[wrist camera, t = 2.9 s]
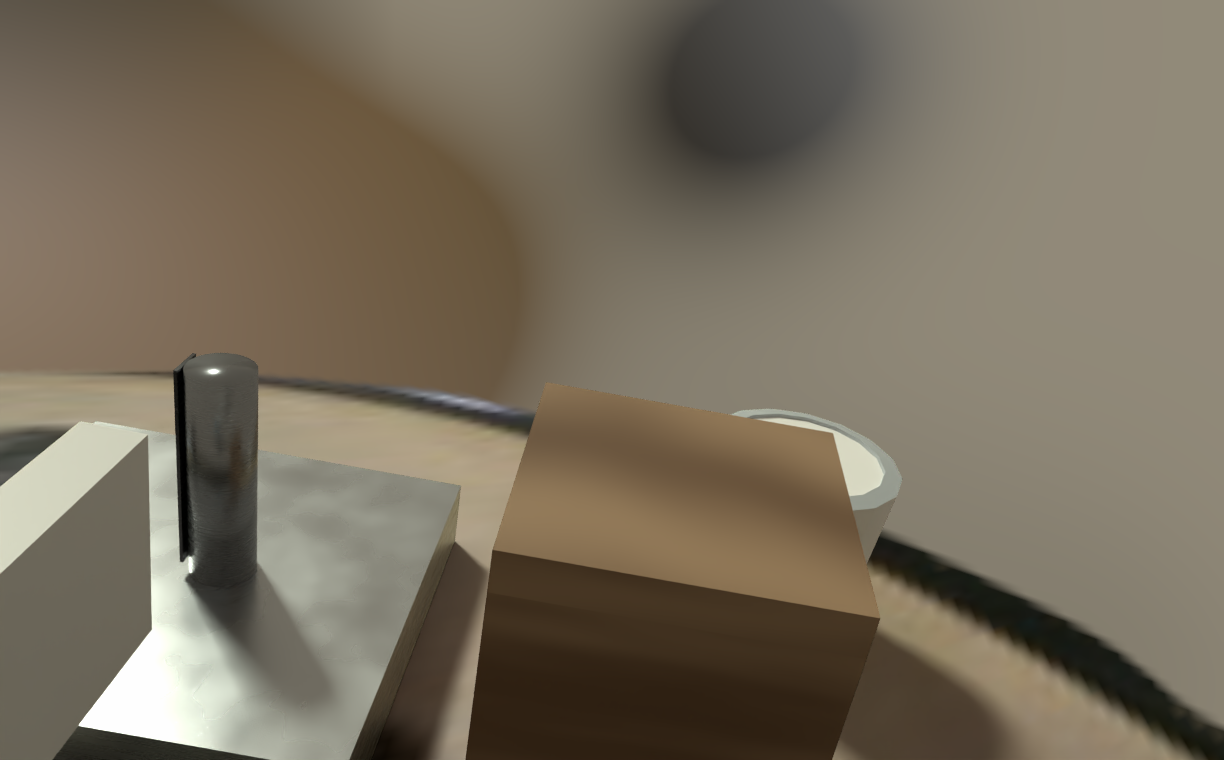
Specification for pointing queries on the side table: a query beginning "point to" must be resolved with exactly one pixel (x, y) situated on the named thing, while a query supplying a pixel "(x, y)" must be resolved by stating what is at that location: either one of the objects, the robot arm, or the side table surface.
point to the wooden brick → (671, 590)
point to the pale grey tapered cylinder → (851, 470)
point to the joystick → (267, 591)
